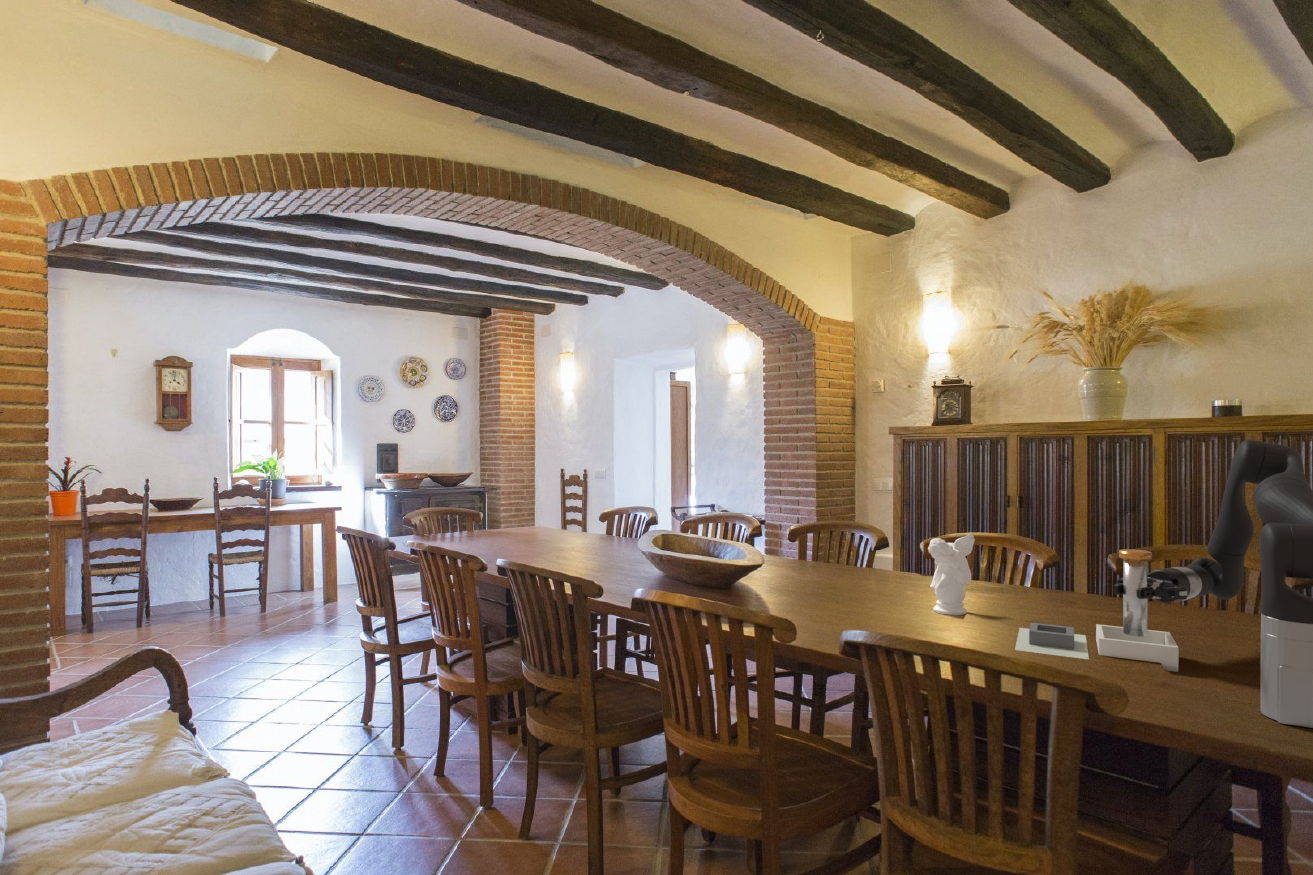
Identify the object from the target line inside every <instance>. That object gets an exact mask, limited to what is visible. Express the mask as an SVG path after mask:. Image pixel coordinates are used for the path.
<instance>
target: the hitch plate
mask: <svg viewBox="0 0 1313 875" xmlns="http://www.w3.org/2000/svg"><path fill="white" fill-rule="evenodd" d="M1088 649H1089V648H1088V643H1087V635H1085V634H1079V633H1075V629H1074V627H1073V626H1067V625H1066V626H1064V625H1057V624H1046V623H1038V622H1030V624H1029V628H1025V627H1019V628H1018V634H1017V638H1016V644H1015V648H1014V651H1018V652H1020V651H1021V652H1026V653H1027V652H1028V653H1035V654H1040V655H1041V654H1043V655H1049V656H1058V657H1065V658H1073V659H1083V660H1090V658H1089V657H1090V656H1089V650H1088Z"/></svg>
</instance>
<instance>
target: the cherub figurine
mask: <svg viewBox="0 0 1313 875" xmlns="http://www.w3.org/2000/svg"><path fill="white" fill-rule="evenodd" d="M975 541H976V539H975V535H973V533H972V532H970V533H968V534H967V535H965V536H962V537H959V538H957V539H955V541H954V542H946V540H945V539H942V538H941V537H935V538H932V539H931V540H929V545H928V547H927V550H928V554H930V555H931V557H932V559H934V564H935V565H936V569H935V571H934V574H933V578H932V581H931V582H930V585H929V586H930V588H931V589H934V592H935V597H936V599H937V600H936V601H935V603H936V605H934V606H933V607H932V608H933V611H934V612H935V613H937V614H941V615H950V616H962V615H966V614H967V612H968V611H967V609H966V608H965V607H964V606H965V603H964V600H965V598H966V592H967V591H966V587H965V585H966V586H967V585H968V584H970V583H971V580H972V572H971V569H970V565H969V563H968V562H969V560H968V559H967V558H966V557H967V556H968V555H970V554H971V553H972V552H973V548H974V544H975Z"/></svg>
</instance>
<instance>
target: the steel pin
mask: <svg viewBox="0 0 1313 875" xmlns="http://www.w3.org/2000/svg"><path fill="white" fill-rule="evenodd" d="M1118 558H1119V559H1123V561H1122V565H1123V567H1122V569H1123V571H1122V572H1123V573H1122V575H1123V576H1122V577H1123V594H1122V596H1123V597H1122V598H1123V599H1122V601H1123V602H1122V604H1123V605H1122V606H1123V608H1122V620H1123V623H1122V627H1123V633H1124V634H1127V635H1131V636H1138V637H1145V636H1147V630H1148V598H1146V599H1139V598H1138V588H1144V587H1147V576H1148V562H1149V561H1152V560H1153V559H1152V558H1153V552H1151V551H1148V550H1143V549H1134V548H1133V549H1130V548H1127V549H1126V548H1125V549H1119V550H1118Z"/></svg>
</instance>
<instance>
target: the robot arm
mask: <svg viewBox="0 0 1313 875" xmlns="http://www.w3.org/2000/svg"><path fill="white" fill-rule="evenodd" d="M1245 483H1249V484H1253V485H1256V487H1255V489H1254V492H1253V495H1252V497H1253V504H1254V506H1255V507H1254V508H1255V509H1256V512H1257V516H1258V517H1259V518H1260V520H1261V521H1262V522H1263V523H1264V525H1263V526H1262V528H1261V530H1260V533H1259V538H1258V539H1259V540H1258V547H1259V563H1260V579H1261V580H1260V581H1261V587H1260V588H1261V591H1260V592H1261V594H1260V595H1261V598H1260V687H1259V688H1260V714H1262V715H1264V716H1265V717H1268V718H1270V719H1272V720H1275V721H1277V722H1278V723H1279V724H1283V725H1290V726H1291V725H1292V726H1297V727H1304V728H1310V729H1311V728H1312V729H1313V597H1312V596H1308V595H1305V594H1303V593H1301V592H1299V591H1297V590H1295V589H1294V588H1293V587H1290V585H1288V584H1287V583H1286V578H1290V579H1291V578H1292V579H1293V578H1294V579H1304V580H1313V489H1312V488H1311V486H1310V484H1309V482H1308V480H1307V477H1306V475H1305V470H1304V465H1303V460H1302V457H1301V455H1300V453H1299V451H1298V450H1297V449H1295V448H1294V447H1291V446H1288V445H1282V444H1277V443H1273V442H1267V441H1260V440H1255V439H1246V440H1243V441H1241V443H1240V444H1239V445H1238V446H1237V448H1236V450H1235V452H1234V454H1233V457H1232V461H1231V464H1230V468H1229V470H1228V475H1227V480H1226V484H1225V487H1224V491H1223V496H1222V500H1221V501H1222V502H1221V506H1220V512H1219V515H1218V518H1217V522H1216V524H1215V527H1214V530H1213V532H1212V535H1211V536H1210V539H1209V541H1208V544H1207V548H1206V549H1207V550H1206V551H1207V553H1208V555H1209V556H1210V557H1211V558H1212V559H1211V558H1209V557H1198V558H1196V559H1195V560H1194V561H1193V562H1191V563H1190V564H1188V566H1187V565H1186V566H1181V567H1180V566H1172V567H1166V568H1165V567H1164V568H1157V569H1155V570H1152V571H1150V572H1149V573H1147V587H1144V588H1138V598H1139V599H1146V598H1147V599H1153V600H1154V601H1156V602H1159V603H1162V604H1170V603H1171V604H1172V603H1176V602H1182V601H1183V602H1184V601H1187V600H1190V599H1193V598H1200V597H1203V596H1206V595H1208V594H1212V596H1215V597H1216V598H1218V599H1221V600H1230V599H1233V598H1235V597H1237V596H1238V595H1239V593H1241V591H1242V588H1243V586H1244V580H1245V579H1244V578H1245V574H1244V573H1245V572H1244V571H1245V568H1244V567H1245V556H1246V554H1247V552H1248V550H1249V548H1250V545H1251V543H1252V540H1253V537H1254V534H1255V533H1254V532H1255V526H1254V522H1253V519H1252V517H1251V514H1250V511H1249V509H1248V507H1247V504H1246V500H1245V497H1244V488H1245ZM1113 592H1114V594H1115V595H1123V576H1122V577H1119V578H1118V579H1116V583H1115V584H1113Z"/></svg>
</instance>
